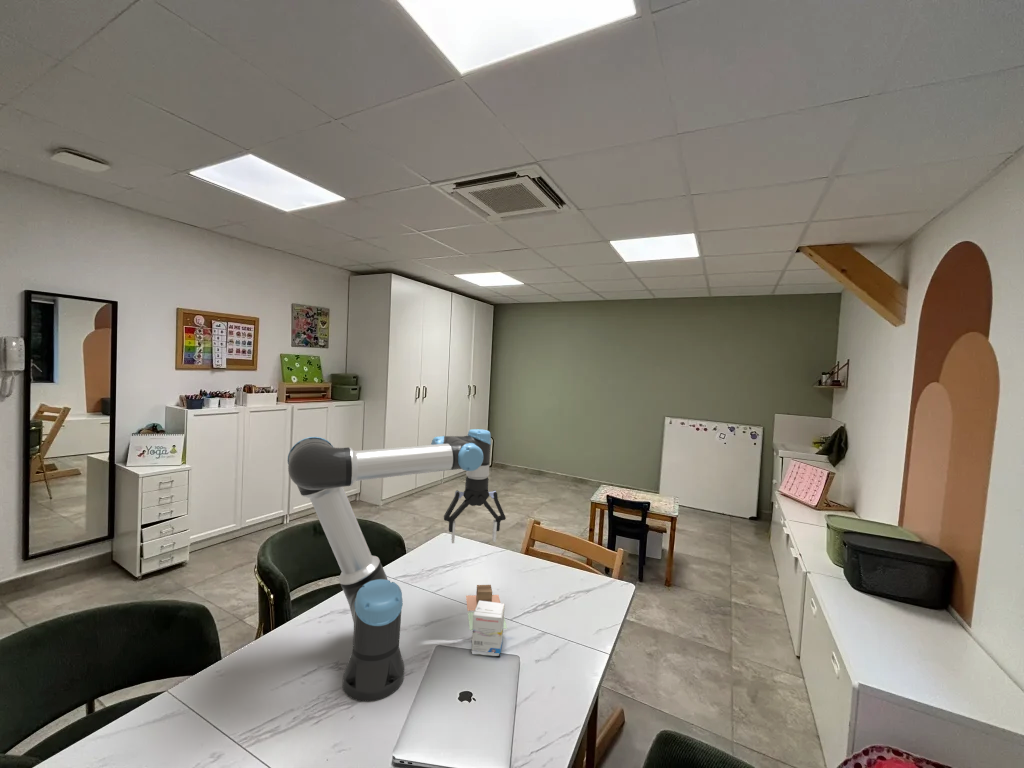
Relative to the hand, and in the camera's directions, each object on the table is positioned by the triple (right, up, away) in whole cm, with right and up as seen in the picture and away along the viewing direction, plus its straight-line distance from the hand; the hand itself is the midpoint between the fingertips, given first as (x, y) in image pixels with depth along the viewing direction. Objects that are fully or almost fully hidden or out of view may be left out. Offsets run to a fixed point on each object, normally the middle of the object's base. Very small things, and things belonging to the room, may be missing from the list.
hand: (473, 541), depth 133 cm
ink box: (+5, -28, -11) cm, 30 cm away
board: (+3, -27, +5) cm, 28 cm away
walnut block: (+3, -26, +11) cm, 28 cm away
